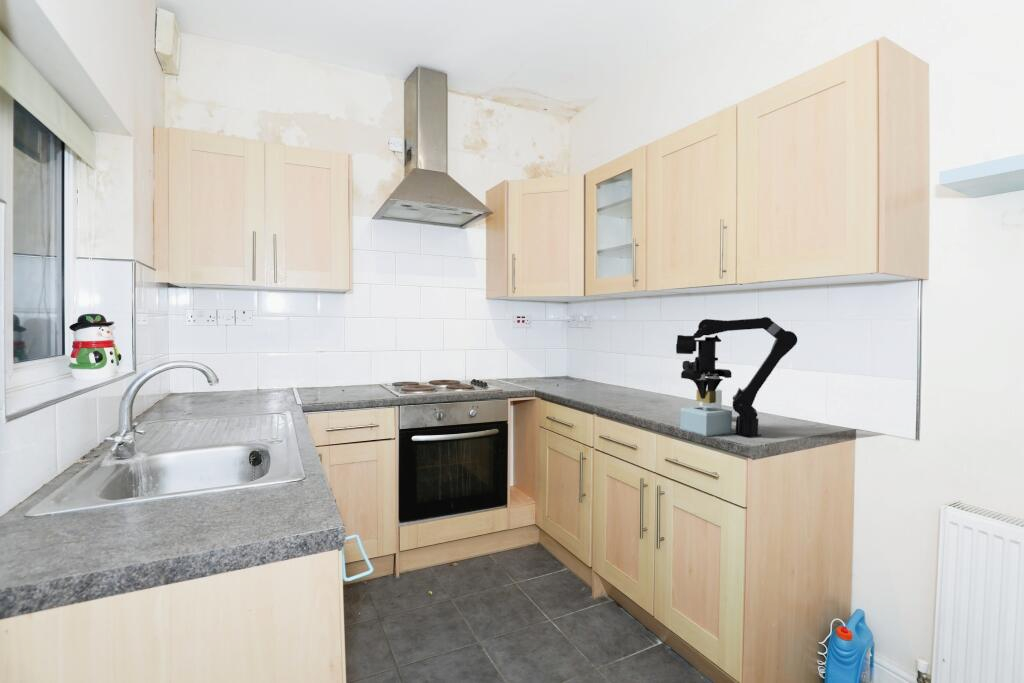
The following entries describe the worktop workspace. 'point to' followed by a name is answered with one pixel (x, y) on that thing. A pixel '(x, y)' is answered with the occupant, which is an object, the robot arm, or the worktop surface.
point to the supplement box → (718, 400)
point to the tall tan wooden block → (707, 397)
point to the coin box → (706, 420)
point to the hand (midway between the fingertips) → (706, 398)
